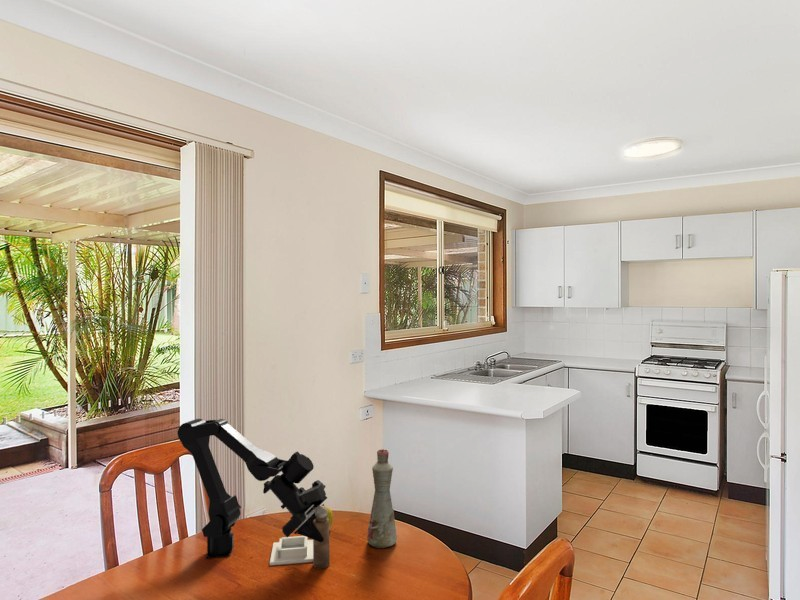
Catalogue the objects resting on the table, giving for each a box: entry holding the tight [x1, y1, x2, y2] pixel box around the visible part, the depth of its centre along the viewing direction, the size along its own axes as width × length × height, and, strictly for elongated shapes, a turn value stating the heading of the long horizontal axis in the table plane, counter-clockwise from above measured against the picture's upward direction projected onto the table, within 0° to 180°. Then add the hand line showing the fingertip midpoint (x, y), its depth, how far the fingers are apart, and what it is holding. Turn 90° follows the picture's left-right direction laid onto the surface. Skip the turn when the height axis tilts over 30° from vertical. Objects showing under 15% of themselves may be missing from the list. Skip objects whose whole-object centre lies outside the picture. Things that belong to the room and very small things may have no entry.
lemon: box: [324, 505, 334, 529], centre depth 164 cm, size 6×6×8 cm
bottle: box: [366, 449, 398, 549], centre depth 155 cm, size 9×9×28 cm
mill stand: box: [269, 535, 313, 566], centre depth 149 cm, size 12×12×3 cm
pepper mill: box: [312, 505, 331, 570], centre depth 143 cm, size 4×4×16 cm
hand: (326, 537), depth 142 cm, fingers closed on pepper mill, 4 cm apart
